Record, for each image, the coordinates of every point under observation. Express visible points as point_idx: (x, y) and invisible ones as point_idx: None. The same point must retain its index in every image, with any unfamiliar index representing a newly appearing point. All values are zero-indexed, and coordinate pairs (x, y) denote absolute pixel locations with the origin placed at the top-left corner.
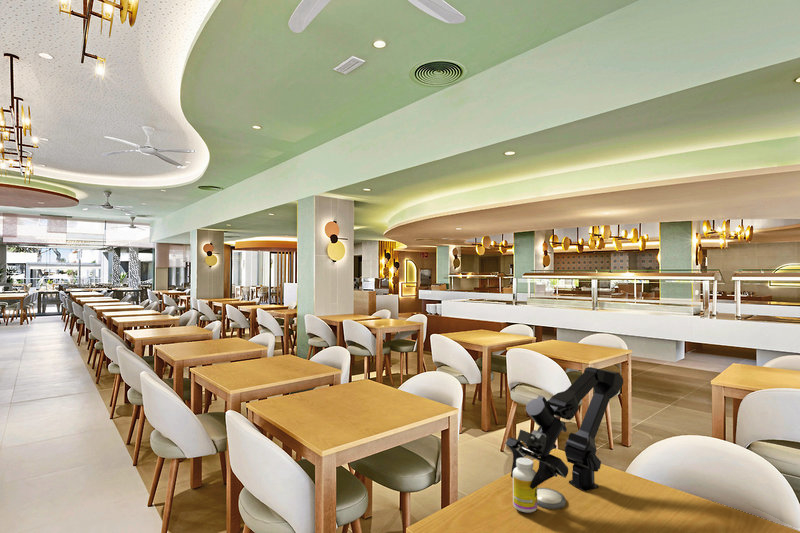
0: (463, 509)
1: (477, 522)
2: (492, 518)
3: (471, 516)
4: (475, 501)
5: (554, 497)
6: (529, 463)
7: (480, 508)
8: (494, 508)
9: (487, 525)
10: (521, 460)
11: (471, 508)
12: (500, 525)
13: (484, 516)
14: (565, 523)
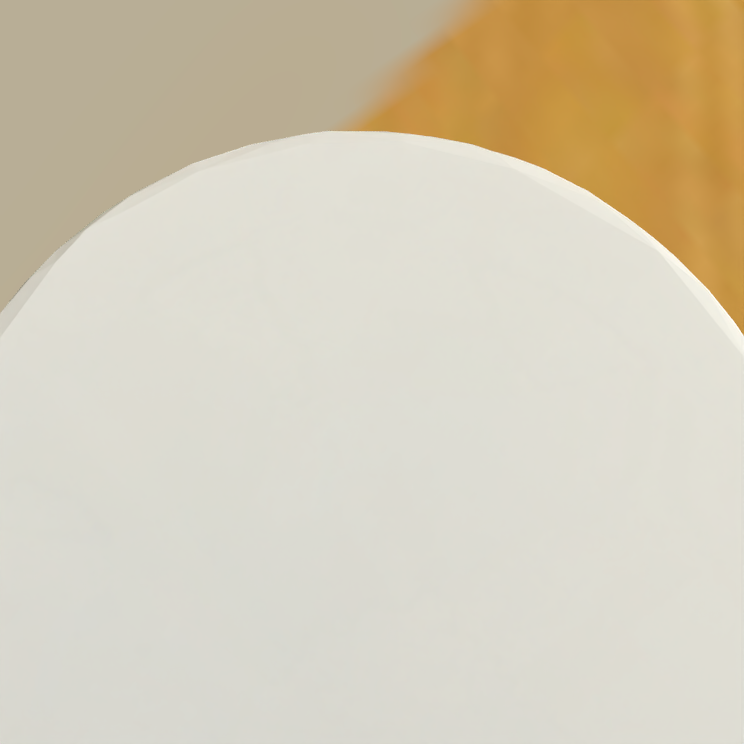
0: (717, 68)
1: (527, 12)
2: (483, 137)
3: (609, 40)
4: (738, 237)
5: None
6: (9, 491)
7: (638, 181)
8: None
9: (452, 36)
10: (522, 503)
11: (686, 127)
12: (386, 106)
13: (542, 113)
14: None
